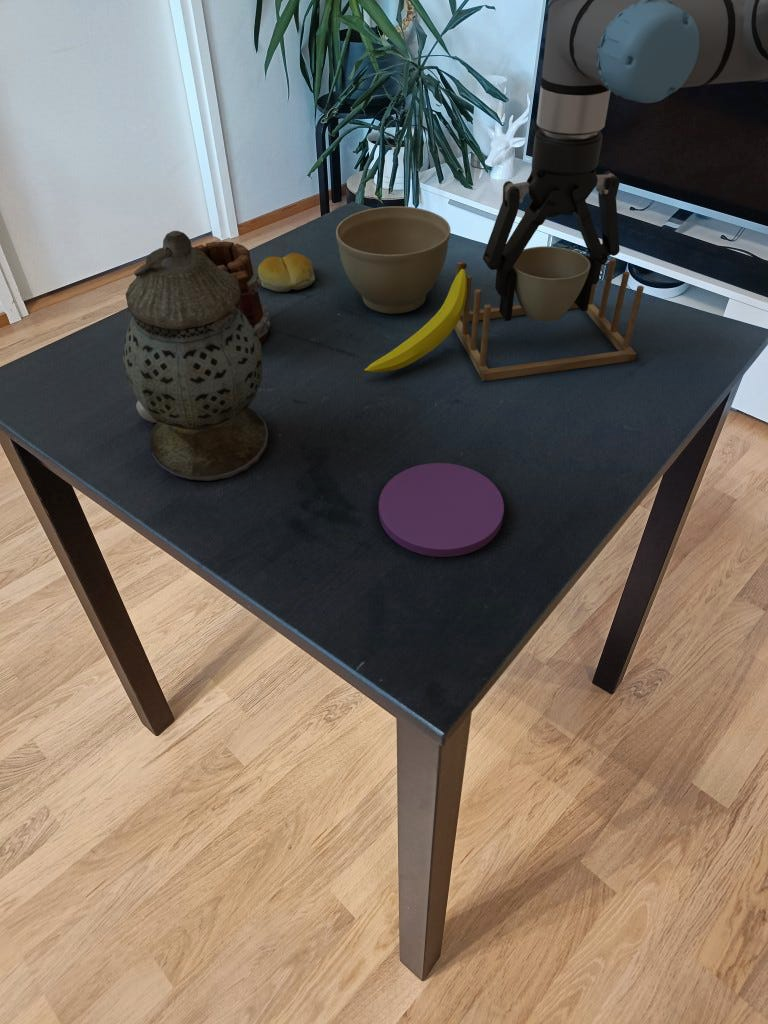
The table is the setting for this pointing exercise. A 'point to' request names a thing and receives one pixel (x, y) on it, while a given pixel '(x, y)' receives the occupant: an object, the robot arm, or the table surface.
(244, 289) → the mug
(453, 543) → the lid
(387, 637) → the table surface
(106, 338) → the table surface
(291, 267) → the bread roll
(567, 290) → the flower pot
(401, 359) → the banana
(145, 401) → the lantern
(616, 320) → the rack
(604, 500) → the table surface
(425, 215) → the planter bowl
